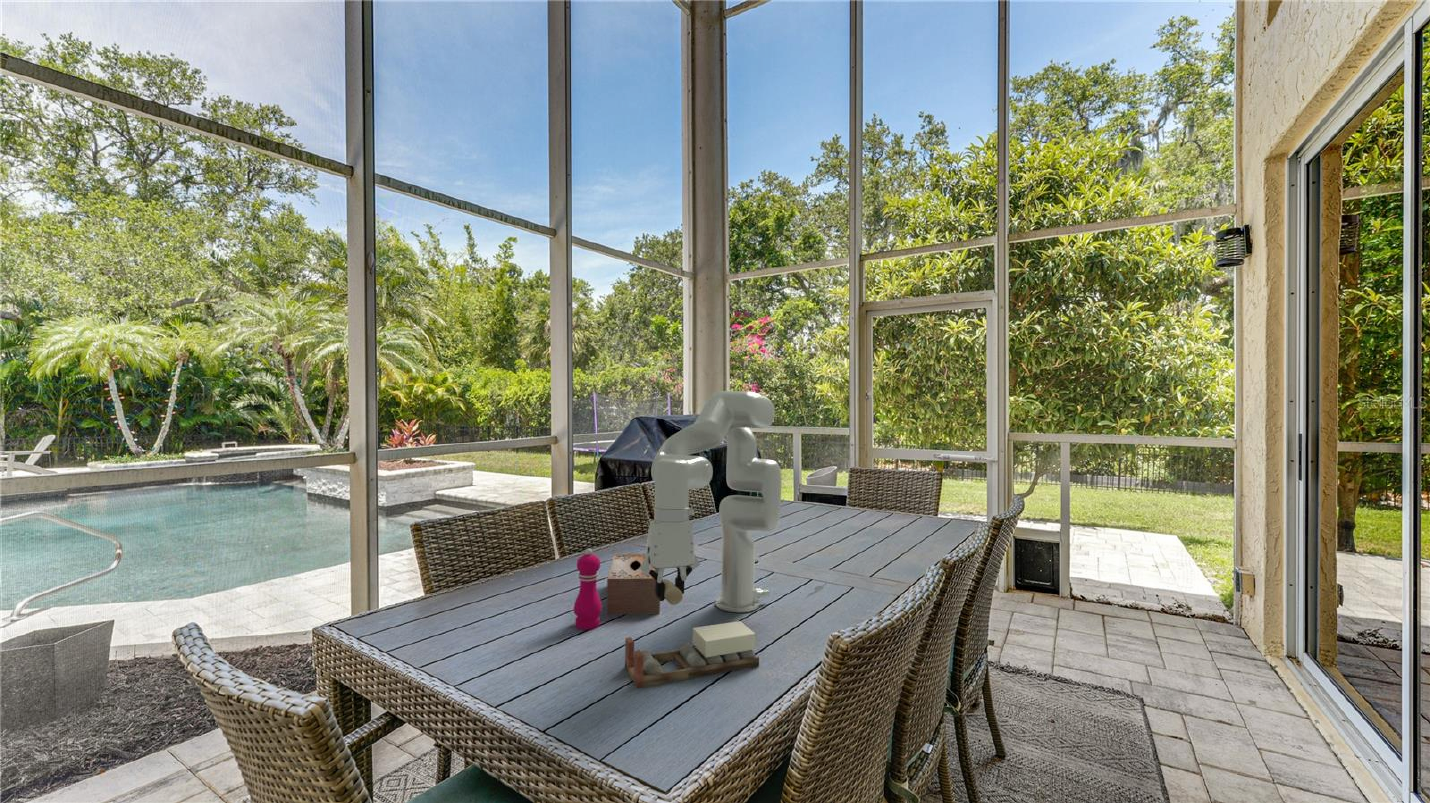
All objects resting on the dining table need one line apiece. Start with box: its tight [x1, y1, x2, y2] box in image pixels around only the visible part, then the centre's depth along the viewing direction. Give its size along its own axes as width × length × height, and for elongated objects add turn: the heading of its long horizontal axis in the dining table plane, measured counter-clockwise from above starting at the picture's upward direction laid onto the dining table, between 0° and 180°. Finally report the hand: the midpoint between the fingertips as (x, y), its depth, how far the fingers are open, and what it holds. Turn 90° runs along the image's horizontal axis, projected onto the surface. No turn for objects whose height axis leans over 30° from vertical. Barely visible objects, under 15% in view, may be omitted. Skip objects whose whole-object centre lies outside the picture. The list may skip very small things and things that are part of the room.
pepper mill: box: [573, 548, 603, 630], centre depth 156 cm, size 7×7×20 cm
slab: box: [692, 620, 756, 657], centre depth 136 cm, size 12×8×4 cm, turn 113°
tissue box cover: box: [606, 553, 661, 615], centre depth 177 cm, size 26×14×10 cm, turn 6°
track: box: [624, 636, 760, 689], centre depth 133 cm, size 28×10×6 cm, turn 113°
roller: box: [663, 578, 683, 606], centre depth 132 cm, size 7×4×4 cm, turn 22°
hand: (669, 597), depth 132 cm, fingers closed on roller, 3 cm apart
